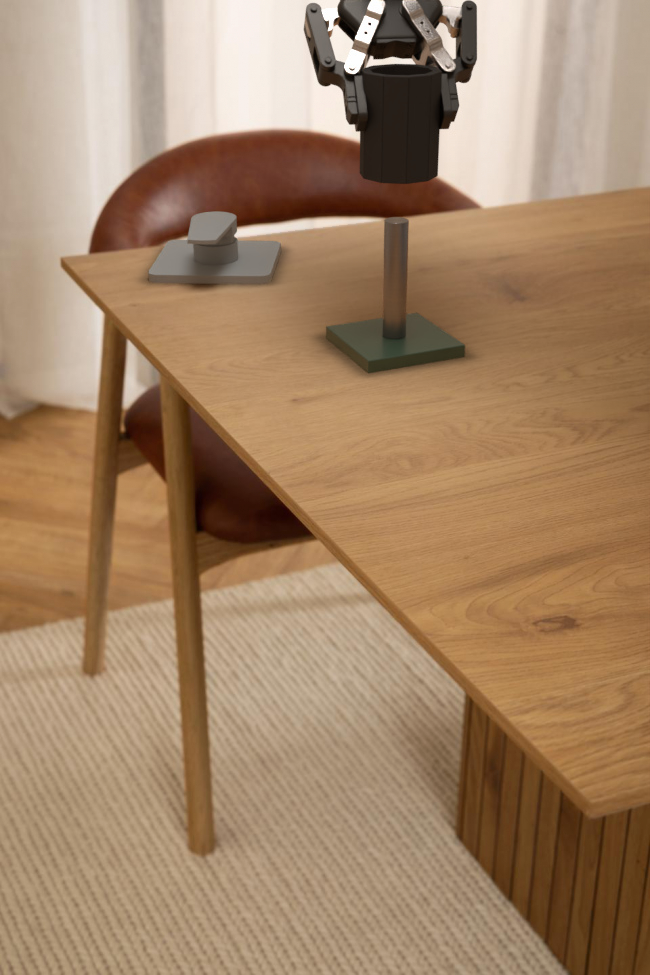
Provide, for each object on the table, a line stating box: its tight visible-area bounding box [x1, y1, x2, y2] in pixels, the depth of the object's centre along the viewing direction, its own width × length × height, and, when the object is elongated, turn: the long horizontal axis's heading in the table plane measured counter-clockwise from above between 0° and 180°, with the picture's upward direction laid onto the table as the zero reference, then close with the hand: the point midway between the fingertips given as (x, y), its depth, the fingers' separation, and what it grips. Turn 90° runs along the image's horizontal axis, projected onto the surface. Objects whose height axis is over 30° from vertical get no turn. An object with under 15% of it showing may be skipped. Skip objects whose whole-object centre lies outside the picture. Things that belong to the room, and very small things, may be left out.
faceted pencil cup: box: [359, 63, 442, 185], centre depth 93 cm, size 6×6×8 cm
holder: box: [325, 216, 466, 374], centre depth 100 cm, size 9×9×11 cm
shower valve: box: [147, 210, 282, 285], centre depth 121 cm, size 12×6×15 cm
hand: (404, 123), depth 91 cm, fingers closed on faceted pencil cup, 6 cm apart
